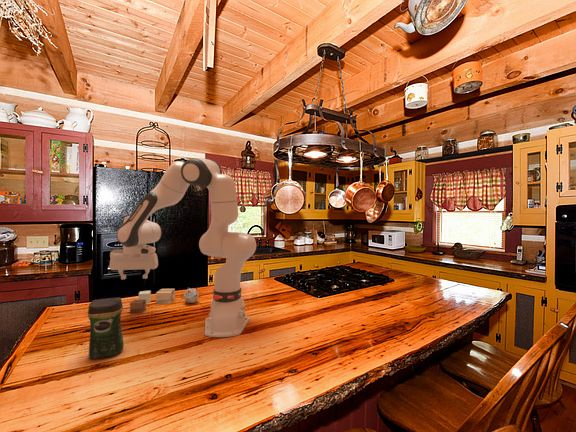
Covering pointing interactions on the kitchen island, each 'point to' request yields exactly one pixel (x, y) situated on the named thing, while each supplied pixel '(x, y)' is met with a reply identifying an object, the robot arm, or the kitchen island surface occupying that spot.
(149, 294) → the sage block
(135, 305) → the walnut block
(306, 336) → the kitchen island surface
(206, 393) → the kitchen island surface
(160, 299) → the oak base block
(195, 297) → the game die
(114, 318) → the coffee jar
